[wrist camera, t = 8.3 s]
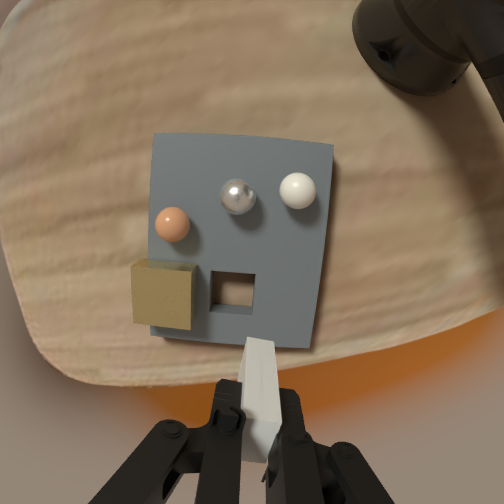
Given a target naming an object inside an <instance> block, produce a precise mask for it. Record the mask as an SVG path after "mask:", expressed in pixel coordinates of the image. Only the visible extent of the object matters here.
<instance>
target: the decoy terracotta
mask: <svg viewBox="0 0 504 504" xmlns="http://www.w3.org/2000/svg"><path fill="white" fill-rule="evenodd" d="M155 229H156V232H157V234H158V235H159V237H160V238H161V239H163V240H164V241H167V242H178V241H180V240H182V239H183V238H185V237H186V235H187V234H188V232H189V229H190V220H189V217H188V215H187V214H186V212H185V211H183V210H182V209H180V208H178V207H168V208H165V209H163V210H162V211H161V212H160V213H159V214H158V215H157V217H156V220H155Z"/></svg>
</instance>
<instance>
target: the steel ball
mask: <svg viewBox="0 0 504 504" xmlns="http://www.w3.org/2000/svg"><path fill="white" fill-rule="evenodd" d="M219 201H220V204H221V206H222V207H223V209H224V210H225V211H227V212H228V213H230V214H233V215H242V214H245V213H247V212H248V211H250V210H251V209H252V207H253V206H254V204H255V201H256V192H255V189H254V187H253V186H252V185H251V184H250V183H249V182H248V181H246V180H244V179H240V178H235V179H231V180H229V181H227V182H226V183H225V184H224V185H223V186H222V188H221V190H220V193H219Z"/></svg>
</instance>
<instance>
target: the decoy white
mask: <svg viewBox="0 0 504 504" xmlns="http://www.w3.org/2000/svg"><path fill="white" fill-rule="evenodd" d="M280 196H281V199H282V201H283V202H284V203H285V204H286V205H287V206H289V207H291V208H293V209H303V208H306V207H307V206H309V205H310V204H311V203H312V202H313V200H314V199H315V196H316V186H315V184H314V182H313V180H312V179H311V178H310V177H309V176H307V175H306V174H303V173H292V174H290V175H288V176H286V177H285V178H284V179H283V181H282V182H281V185H280Z"/></svg>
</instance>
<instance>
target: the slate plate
mask: <svg viewBox="0 0 504 504" xmlns="http://www.w3.org/2000/svg"><path fill="white" fill-rule="evenodd" d="M333 149H334V145H331V144H324V143H316V142H308V141H300V140H290V139H281V138H270V137H258V136H244V135H227V134H202V133H154V139H153V150H152V163H151V178H150V198H149V228H148V260H160V261H172V262H184V263H196V264H197V273H196V318H195V320H194V323H193V325H192V328H191V330H185V329H176V328H167V327H159V326H151V325H150V333H151V335H152V336H159V337H167V338H175V339H184V340H193V341H203V342H213V343H224V344H237V345H245V344H246V340H247V337H252V338H257V339H263V340H269V341H274V347H288V348H309V346H310V341H311V335H312V329H313V323H314V316H315V310H316V304H317V297H318V290H319V283H320V276H321V268H322V261H323V253H324V245H325V236H326V227H327V218H328V208H329V198H330V187H331V175H332V163H333ZM292 173H303V174H306V175H307V176H309V177H310V178H311V179H312V180H313V182H314V184H315V186H316V196H315V199H314V200H313V202H312V203H311V204H310V205H309V206H307V207H306V208H303V209H293V208H291V207H289V206H287V205H286V204H285V203H284V202H283V201H282V199H281V196H280V185H281V182H282V181H283V179H284V178H285V177H286V176H288V175H290V174H292ZM235 178H240V179H244V180H246V181H248V182H249V183H250V184H251V185H252V186H253V187H254V189H255V192H256V201H255V204H254V206H253V207H252V209H251V210H250V211H248V212H247V213H245V214H242V215H233V214H230V213H228V212H227V211H225V210H224V209H223V207H222V206H221V204H220V201H219V193H220V190H221V188H222V186H223V185H224V184H225V183H226V182H227V181H229V180H231V179H235ZM168 207H178V208H180V209H182V210H183V211H185V212H186V214H187V215H188V217H189V220H190V229H189V232H188V234H187V235H186V237H185V238H183V239H182V240H180V241H178V242H167V241H164V240H163V239H161V238H160V237H159V235H158V234H157V232H156V229H155V220H156V217H157V215H158V214H159V213H160V212H161V211H162V210H163V209H165V208H168ZM213 271H223V272H236V273H249V274H255V280H254V292H253V304H252V306H238V305H226V304H214V303H212V287H213Z"/></svg>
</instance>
